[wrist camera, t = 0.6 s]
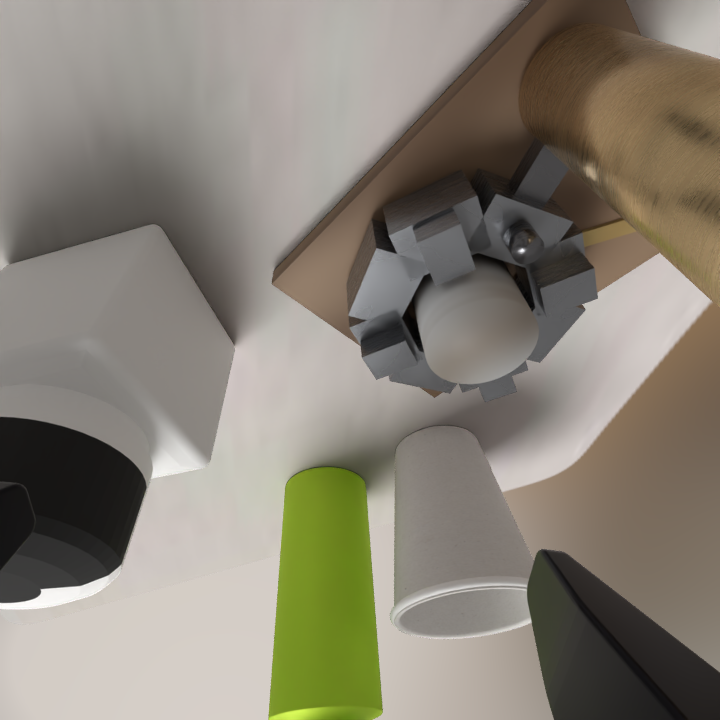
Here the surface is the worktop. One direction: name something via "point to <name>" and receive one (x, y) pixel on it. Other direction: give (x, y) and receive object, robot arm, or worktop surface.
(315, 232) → the mount board
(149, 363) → the medicine bottle
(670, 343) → the worktop surface
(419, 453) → the dixie cup
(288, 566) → the soap dispenser
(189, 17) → the worktop surface
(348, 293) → the desk sculpture ornament
